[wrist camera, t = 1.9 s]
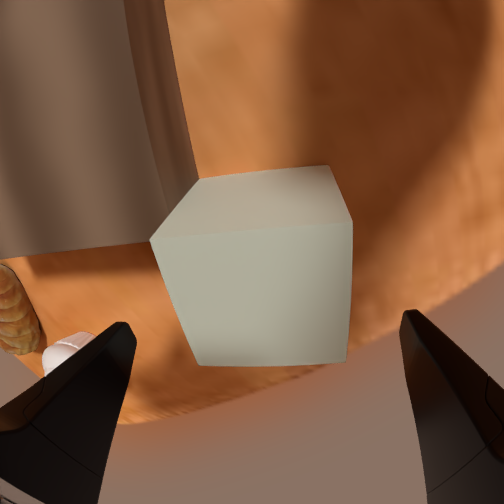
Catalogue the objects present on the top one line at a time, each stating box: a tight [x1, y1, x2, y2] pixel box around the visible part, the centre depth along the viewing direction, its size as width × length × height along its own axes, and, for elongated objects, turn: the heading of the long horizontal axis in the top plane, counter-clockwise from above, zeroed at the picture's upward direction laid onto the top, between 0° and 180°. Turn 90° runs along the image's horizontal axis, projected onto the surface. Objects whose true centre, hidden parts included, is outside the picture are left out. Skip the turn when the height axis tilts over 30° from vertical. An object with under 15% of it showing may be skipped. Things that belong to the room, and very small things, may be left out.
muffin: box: [42, 331, 96, 376], centre depth 19 cm, size 6×6×7 cm
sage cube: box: [149, 165, 353, 367], centre depth 13 cm, size 6×6×6 cm
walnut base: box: [0, 0, 199, 259], centre depth 11 cm, size 14×14×4 cm
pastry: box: [0, 264, 41, 355], centre depth 20 cm, size 9×7×4 cm
